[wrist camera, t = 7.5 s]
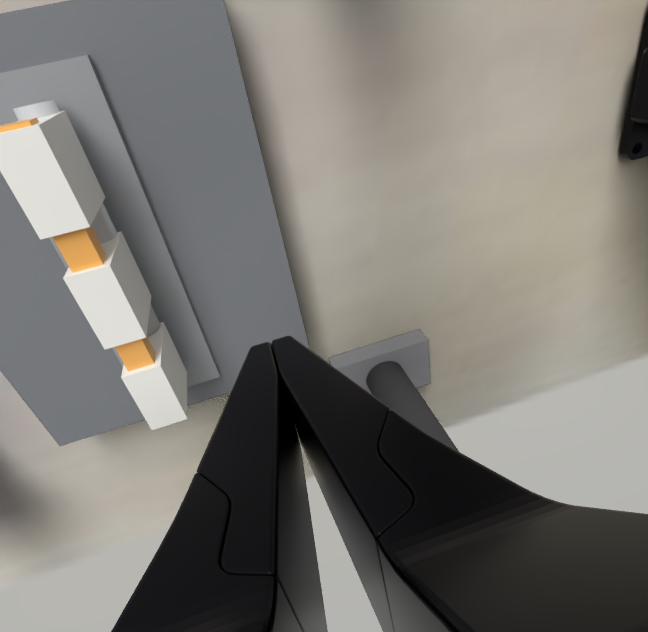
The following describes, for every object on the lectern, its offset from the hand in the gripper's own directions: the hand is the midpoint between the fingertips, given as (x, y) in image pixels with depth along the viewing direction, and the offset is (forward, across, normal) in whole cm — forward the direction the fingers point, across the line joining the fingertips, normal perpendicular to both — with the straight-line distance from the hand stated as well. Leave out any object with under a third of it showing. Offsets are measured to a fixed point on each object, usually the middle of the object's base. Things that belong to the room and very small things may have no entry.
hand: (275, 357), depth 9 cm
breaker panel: (+10, +4, 0) cm, 11 cm away
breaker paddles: (+7, +4, 0) cm, 8 cm away
